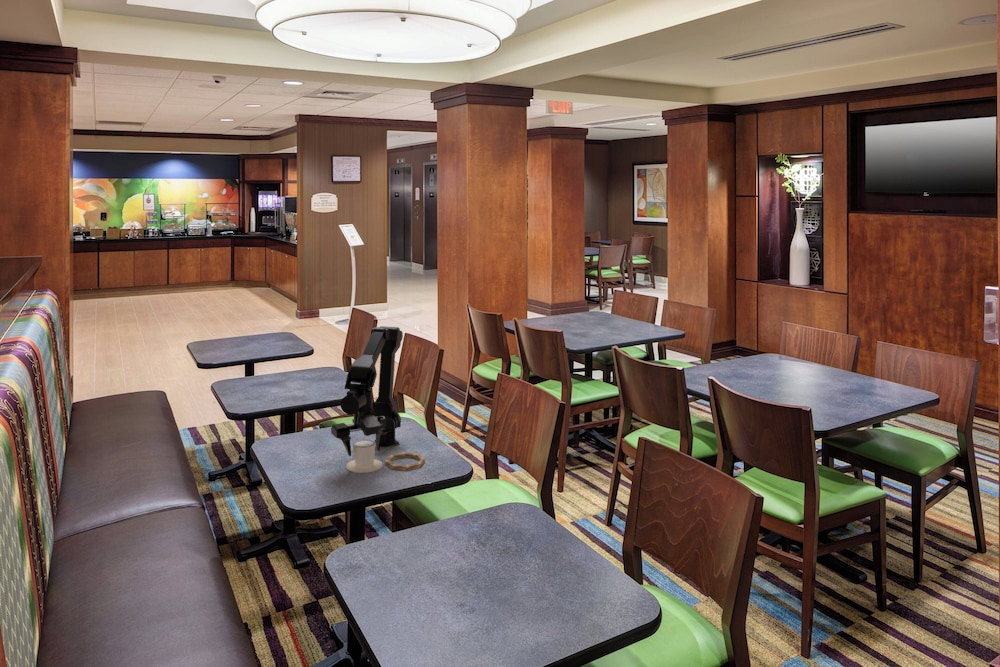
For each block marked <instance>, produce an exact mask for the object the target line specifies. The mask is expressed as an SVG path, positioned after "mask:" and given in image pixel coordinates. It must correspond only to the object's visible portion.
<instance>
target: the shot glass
mask: <svg viewBox="0 0 1000 667" xmlns="http://www.w3.org/2000/svg"><path fill="white" fill-rule="evenodd" d="M352 449H353V457H354V458H353V460H355V466H356V467H358V468H369V467H372V466H373V465H374V459H375V451H376V442H375V441H374V440H371V439H361V440H356V441H354V442H353V443H352Z"/></svg>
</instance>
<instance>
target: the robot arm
mask: <svg viewBox="0 0 1000 667" xmlns="http://www.w3.org/2000/svg"><path fill="white" fill-rule="evenodd" d="M403 334H404V333H403V331H402V330H400V327H398V326H375V327H372V328H371V333H370V336H369V339H368V341H367V343H366V345H365V347H364V350H363V352H362V353H361V356H359V357H358V358H357V359H354V360H353V362H352V364H351V366H350V367H349V369H348V370H347V375H346V380H345V384H344V390H348V391H346V396H344V397H343V398H342V399H341V401H340V408H341V411H342V412H343V414H345V415H348V416H353V419H352V425H351V424H350V425H347V424H346V423H344V422H340V423H335V424H332V426H331V427H330V433H331V435H332V436H334V437H335V438H336V439H338V440H341V442H342V443H343V446H344V448H345V450H346V452H347V455H348V456H349V457H351V456H352V447H351V439H352V437H351V436H350V435H351V433H353V432H358V431H362V433H363V435H364V436H368V437H369V436H372V435H375V440H373V441H374V442H375V449H376V451H377V452H378V451H380V449H381V448H386V447H391V446H396V445H400V442H399V441H398V440H397V439H396V430H397V429H398V428H400V427H401V426H402V424H401V423H402V417H401V415H400V413H399V411H398V405H397V403H396V401H395V399H394V397H393V396H394V395H393V394H394V381H395V380H394V378H395V377H394V376H395V360H396V353H397V352H398V350H399V349H400V348H401V344H402V341H403V336H404V335H403ZM379 357H380V362H379V375H378V374H377V368H376V363H377V362H378V359H379ZM377 375H378V376H379V378H378V396H377V398H376V399H375V400H374V401H373V388H374V386H375V382H376V379H377Z"/></svg>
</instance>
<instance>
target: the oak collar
mask: <svg viewBox="0 0 1000 667" xmlns="http://www.w3.org/2000/svg"><path fill="white" fill-rule="evenodd" d="M403 458H409V459H416V460H417V462H415V463H411V464H407V465H405V464H396V463H394V462H393V461H394V460H398V459H403ZM424 462H425V463H426V458H425V457H423V456H422V455H421V454H420V453H417V452H416V453H415V452H408V451H407V452H405V451H404V452H399V453H394V454H390V455H389V456H388V457H387V458H386V459H385V465H386V466H387V467H389V469H391V470H394V471H395V470H396V471H405V472H406V471H410V470H416V469H420V468H422V466H423V465H424V464H425V463H424Z"/></svg>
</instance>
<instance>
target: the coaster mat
mask: <svg viewBox="0 0 1000 667" xmlns="http://www.w3.org/2000/svg"><path fill="white" fill-rule="evenodd" d="M345 465H346V466H345V468H346V470H347V471H348V472H351V473H355V474H367V473H372V472H373V473H374V472H376V471H379V470H381V468H382V467H383V462H382V461H381V460H379V459H376V458H374V465H373V466H372V467H369V468H358V467H356V466H355V459H353V460H351V461H348V462H347V463H346V464H345Z"/></svg>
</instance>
